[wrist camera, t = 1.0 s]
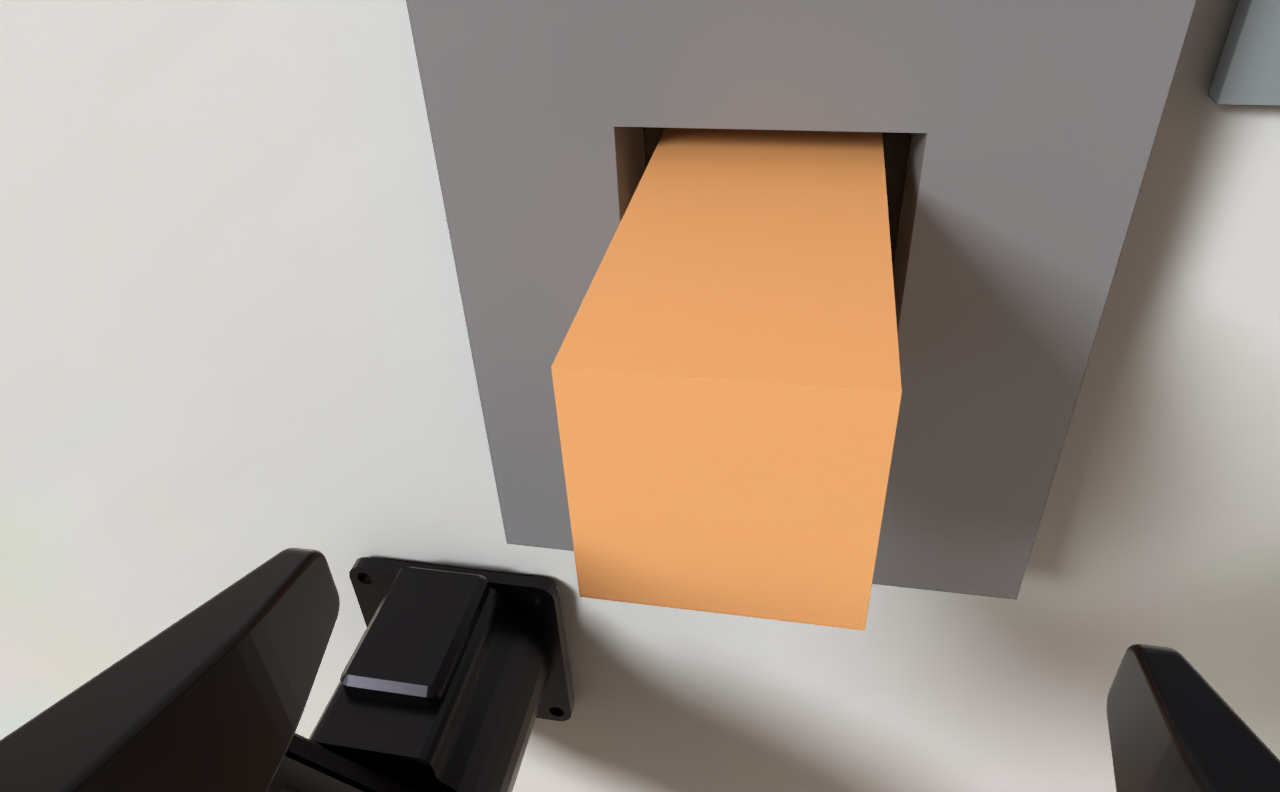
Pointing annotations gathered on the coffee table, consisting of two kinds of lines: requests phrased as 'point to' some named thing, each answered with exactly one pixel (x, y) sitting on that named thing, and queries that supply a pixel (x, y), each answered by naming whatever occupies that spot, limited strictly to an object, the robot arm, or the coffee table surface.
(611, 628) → the coffee table surface
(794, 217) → the orange block
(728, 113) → the holder
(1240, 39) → the mat
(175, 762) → the robot arm
